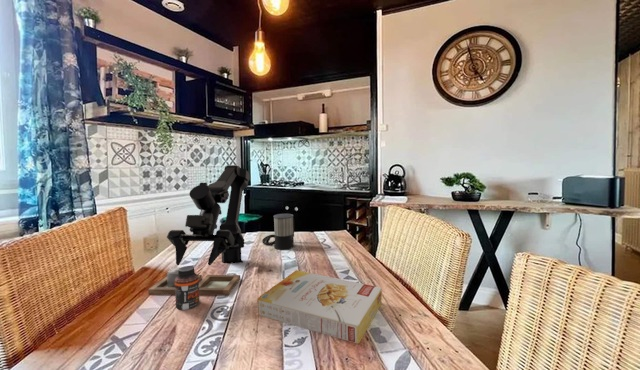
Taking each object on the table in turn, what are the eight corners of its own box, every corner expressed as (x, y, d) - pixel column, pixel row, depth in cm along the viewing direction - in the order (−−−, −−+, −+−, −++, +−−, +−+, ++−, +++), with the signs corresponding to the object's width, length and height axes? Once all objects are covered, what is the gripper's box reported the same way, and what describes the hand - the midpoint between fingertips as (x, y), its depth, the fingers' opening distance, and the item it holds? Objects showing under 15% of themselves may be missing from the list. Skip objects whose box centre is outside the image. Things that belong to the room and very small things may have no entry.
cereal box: (295, 268, 93) (382, 284, 81) (296, 285, 94) (382, 303, 82) (255, 297, 75) (360, 323, 63) (256, 317, 76) (360, 347, 64)
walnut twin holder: (169, 281, 97) (169, 274, 97) (240, 282, 96) (240, 275, 96) (148, 297, 86) (148, 289, 86) (228, 298, 85) (228, 290, 85)
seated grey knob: (173, 282, 94) (172, 266, 94) (188, 282, 94) (187, 266, 93) (164, 289, 89) (163, 272, 89) (180, 289, 89) (179, 272, 88)
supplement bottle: (191, 315, 76) (188, 273, 75) (171, 312, 78) (168, 271, 77) (204, 303, 82) (202, 264, 81) (185, 302, 83) (183, 263, 82)
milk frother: (293, 250, 129) (292, 217, 128) (257, 250, 129) (256, 217, 128) (296, 241, 143) (295, 211, 142) (264, 241, 143) (263, 211, 142)
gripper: (168, 203, 87) (147, 251, 77) (229, 203, 86) (216, 251, 76) (183, 223, 96) (166, 269, 86) (239, 223, 95) (228, 269, 85)
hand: (193, 264), depth 83 cm, fingers open, 9 cm apart
